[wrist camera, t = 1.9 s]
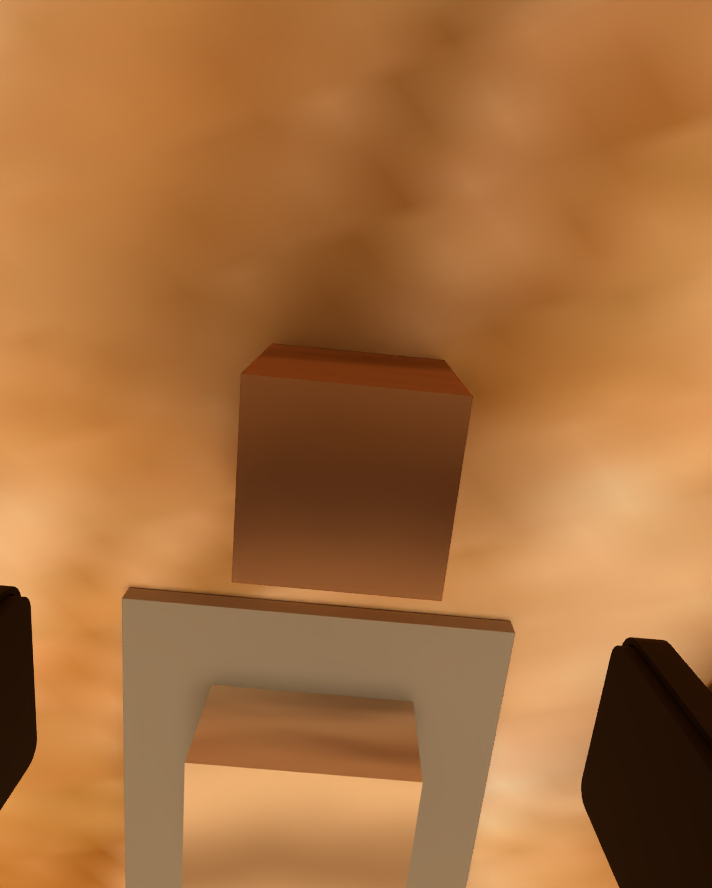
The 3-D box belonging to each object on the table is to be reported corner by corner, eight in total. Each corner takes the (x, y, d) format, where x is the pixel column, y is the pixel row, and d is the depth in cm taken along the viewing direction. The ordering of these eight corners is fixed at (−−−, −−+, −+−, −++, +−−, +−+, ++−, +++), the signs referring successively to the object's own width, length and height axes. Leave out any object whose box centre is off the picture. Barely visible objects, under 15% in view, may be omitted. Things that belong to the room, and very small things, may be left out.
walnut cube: (272, 343, 22) (241, 373, 16) (443, 360, 22) (472, 396, 16) (263, 502, 24) (231, 582, 18) (422, 517, 24) (441, 600, 18)
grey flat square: (129, 587, 24) (121, 598, 24) (510, 621, 25) (515, 632, 24) (131, 878, 29) (125, 895, 28) (456, 904, 29) (459, 921, 28)
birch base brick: (211, 684, 25) (184, 762, 21) (413, 701, 25) (422, 782, 21) (206, 841, 27) (180, 937, 23) (390, 855, 27) (395, 954, 23)
